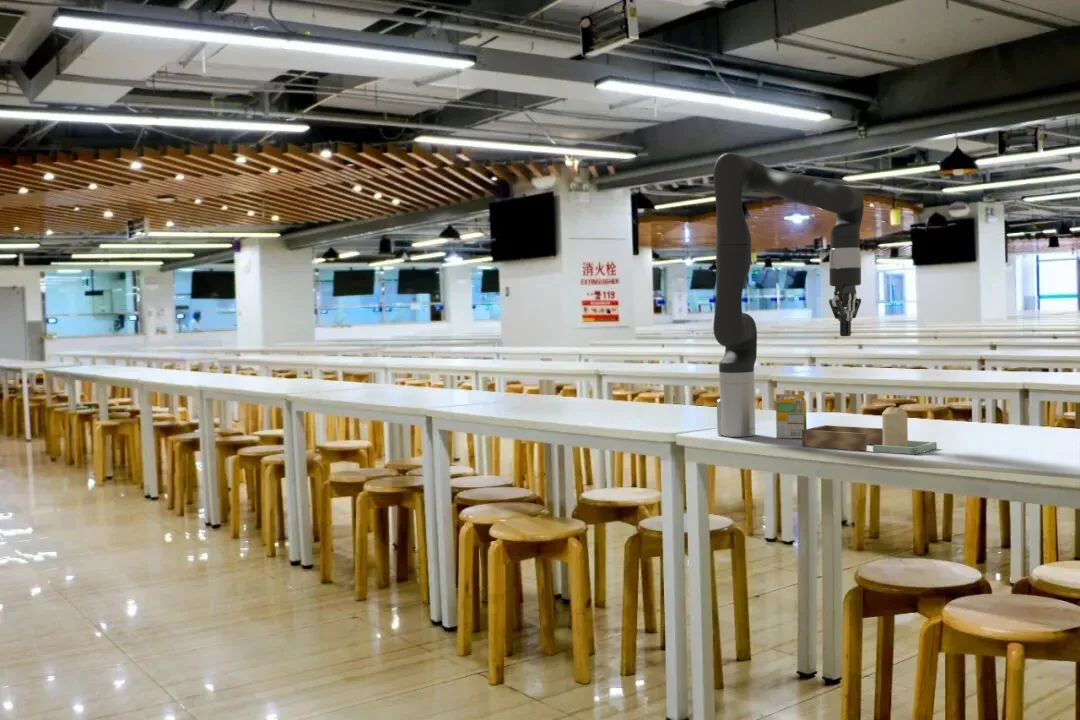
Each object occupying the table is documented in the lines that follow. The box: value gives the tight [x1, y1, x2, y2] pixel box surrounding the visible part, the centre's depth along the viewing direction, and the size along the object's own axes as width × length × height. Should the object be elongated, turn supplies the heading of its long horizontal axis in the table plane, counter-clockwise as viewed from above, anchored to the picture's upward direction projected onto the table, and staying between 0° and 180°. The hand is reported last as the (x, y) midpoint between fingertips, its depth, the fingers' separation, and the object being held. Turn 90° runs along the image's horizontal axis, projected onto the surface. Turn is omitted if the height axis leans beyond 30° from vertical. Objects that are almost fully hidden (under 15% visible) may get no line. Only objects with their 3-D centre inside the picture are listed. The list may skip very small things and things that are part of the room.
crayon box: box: [775, 393, 808, 440], centre depth 252 cm, size 7×3×12 cm, turn 62°
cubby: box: [801, 424, 883, 452], centre depth 235 cm, size 16×12×4 cm
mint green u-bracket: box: [872, 439, 938, 455], centre depth 224 cm, size 10×12×2 cm
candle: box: [881, 406, 909, 447], centre depth 226 cm, size 6×6×10 cm
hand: (845, 336), depth 241 cm, fingers closed
